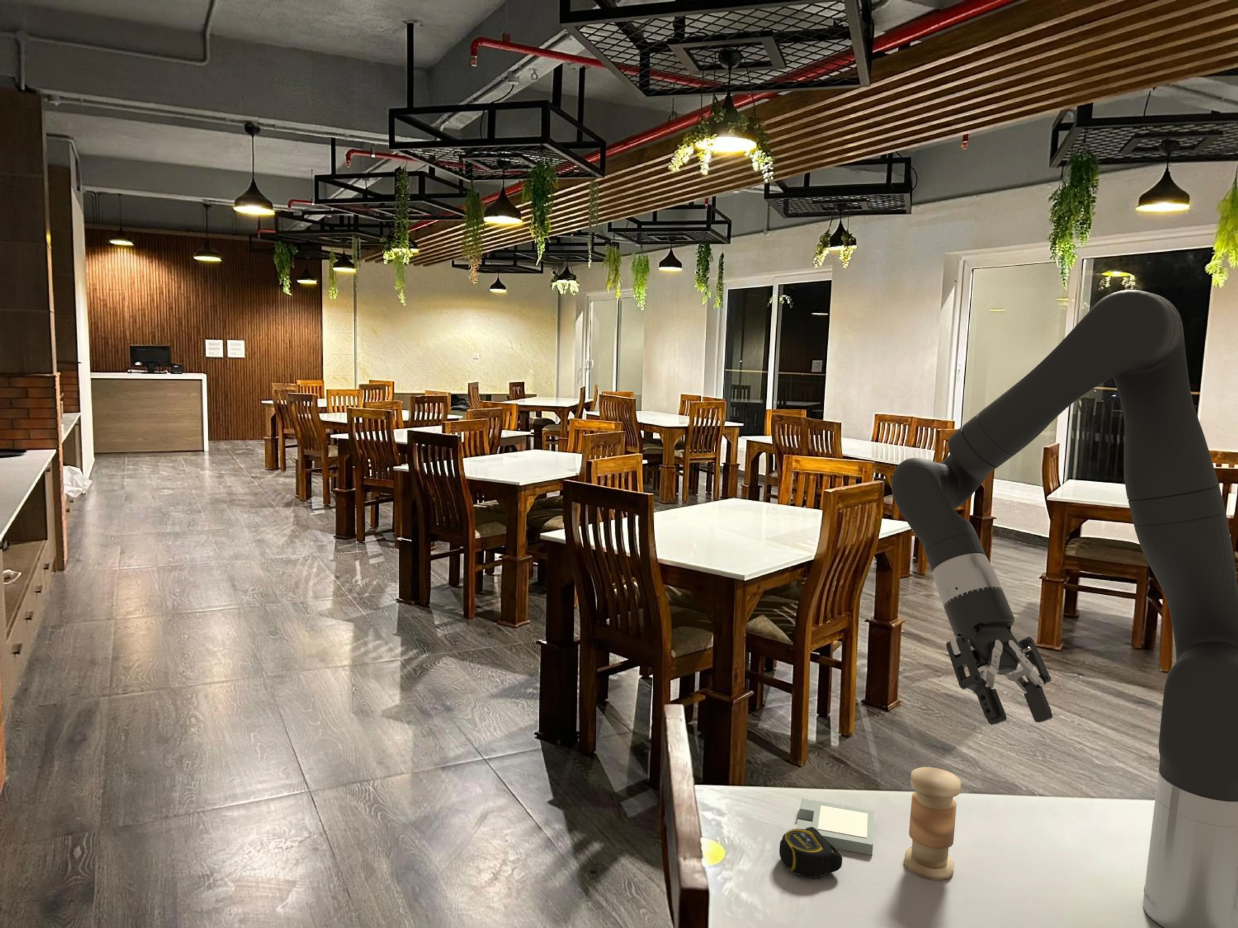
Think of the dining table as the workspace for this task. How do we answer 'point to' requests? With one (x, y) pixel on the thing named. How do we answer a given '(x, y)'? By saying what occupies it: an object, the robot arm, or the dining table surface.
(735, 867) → the dining table surface
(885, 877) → the dining table surface
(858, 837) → the plate
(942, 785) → the bobbin
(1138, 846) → the dining table surface
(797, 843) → the tape measure
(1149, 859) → the robot arm
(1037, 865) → the dining table surface
